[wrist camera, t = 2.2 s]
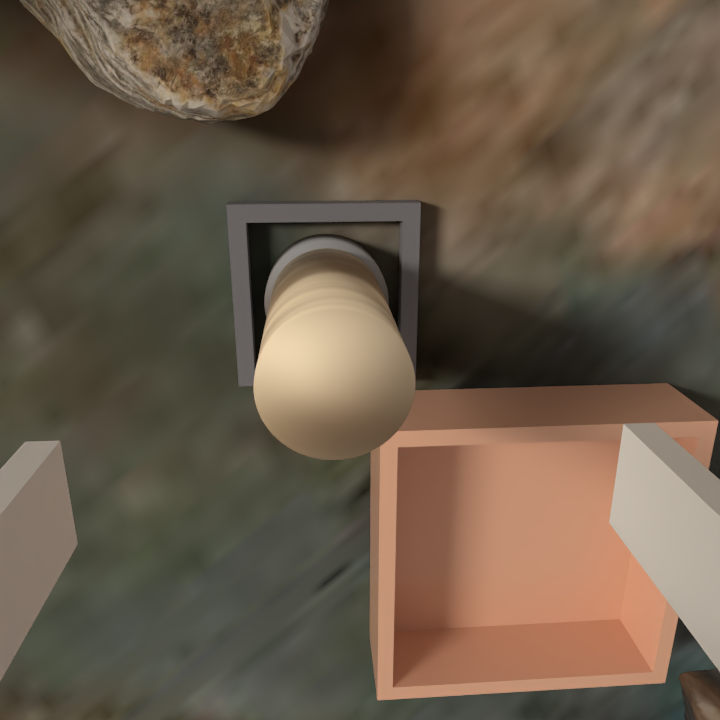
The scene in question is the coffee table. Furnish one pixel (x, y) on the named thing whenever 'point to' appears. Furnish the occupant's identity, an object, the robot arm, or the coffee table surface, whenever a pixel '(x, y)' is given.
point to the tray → (516, 542)
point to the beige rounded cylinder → (331, 352)
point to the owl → (701, 694)
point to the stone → (188, 50)
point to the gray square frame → (320, 212)
